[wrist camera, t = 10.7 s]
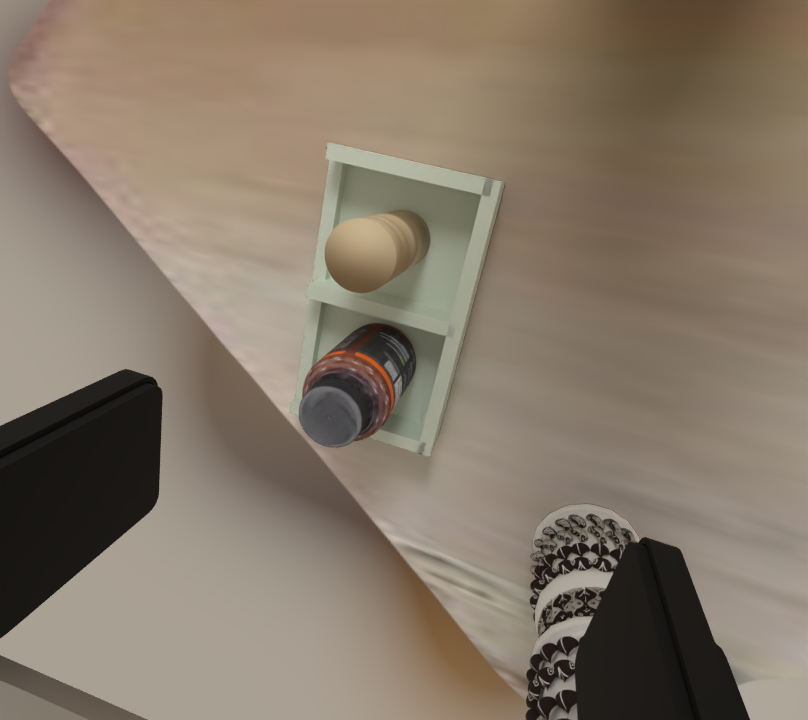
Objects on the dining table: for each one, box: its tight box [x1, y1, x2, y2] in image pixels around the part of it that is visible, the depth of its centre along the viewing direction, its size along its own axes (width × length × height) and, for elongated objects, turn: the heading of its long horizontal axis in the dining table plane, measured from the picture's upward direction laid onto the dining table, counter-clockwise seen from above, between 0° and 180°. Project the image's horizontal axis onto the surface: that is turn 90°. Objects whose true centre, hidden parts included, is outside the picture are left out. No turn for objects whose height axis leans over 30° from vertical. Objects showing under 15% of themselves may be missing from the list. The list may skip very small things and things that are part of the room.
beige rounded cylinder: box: [324, 210, 430, 293], centre depth 33 cm, size 4×4×10 cm
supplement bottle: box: [299, 323, 416, 448], centre depth 36 cm, size 6×6×11 cm
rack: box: [289, 143, 505, 457], centre depth 38 cm, size 20×12×4 cm, turn 168°
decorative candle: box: [526, 504, 640, 720], centre depth 31 cm, size 9×9×25 cm
